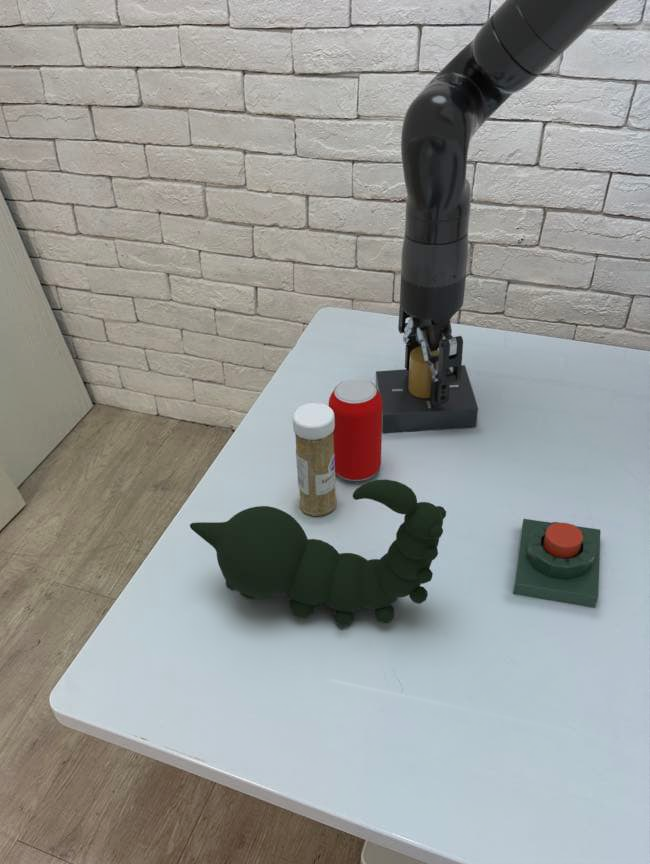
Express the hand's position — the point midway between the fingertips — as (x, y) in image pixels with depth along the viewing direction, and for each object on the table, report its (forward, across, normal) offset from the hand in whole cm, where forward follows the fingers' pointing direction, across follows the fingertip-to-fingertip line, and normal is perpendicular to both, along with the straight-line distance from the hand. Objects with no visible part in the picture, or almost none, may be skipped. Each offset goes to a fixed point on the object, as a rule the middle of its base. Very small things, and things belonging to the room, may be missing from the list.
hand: (425, 385), depth 105 cm
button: (0, -32, -2) cm, 32 cm away
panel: (+4, 0, 0) cm, 4 cm away
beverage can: (+4, -9, +13) cm, 16 cm away
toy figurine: (+4, -28, +24) cm, 37 cm away
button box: (+4, -32, -2) cm, 32 cm away
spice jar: (+4, -14, +19) cm, 24 cm away
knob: (+1, 0, 0) cm, 1 cm away
